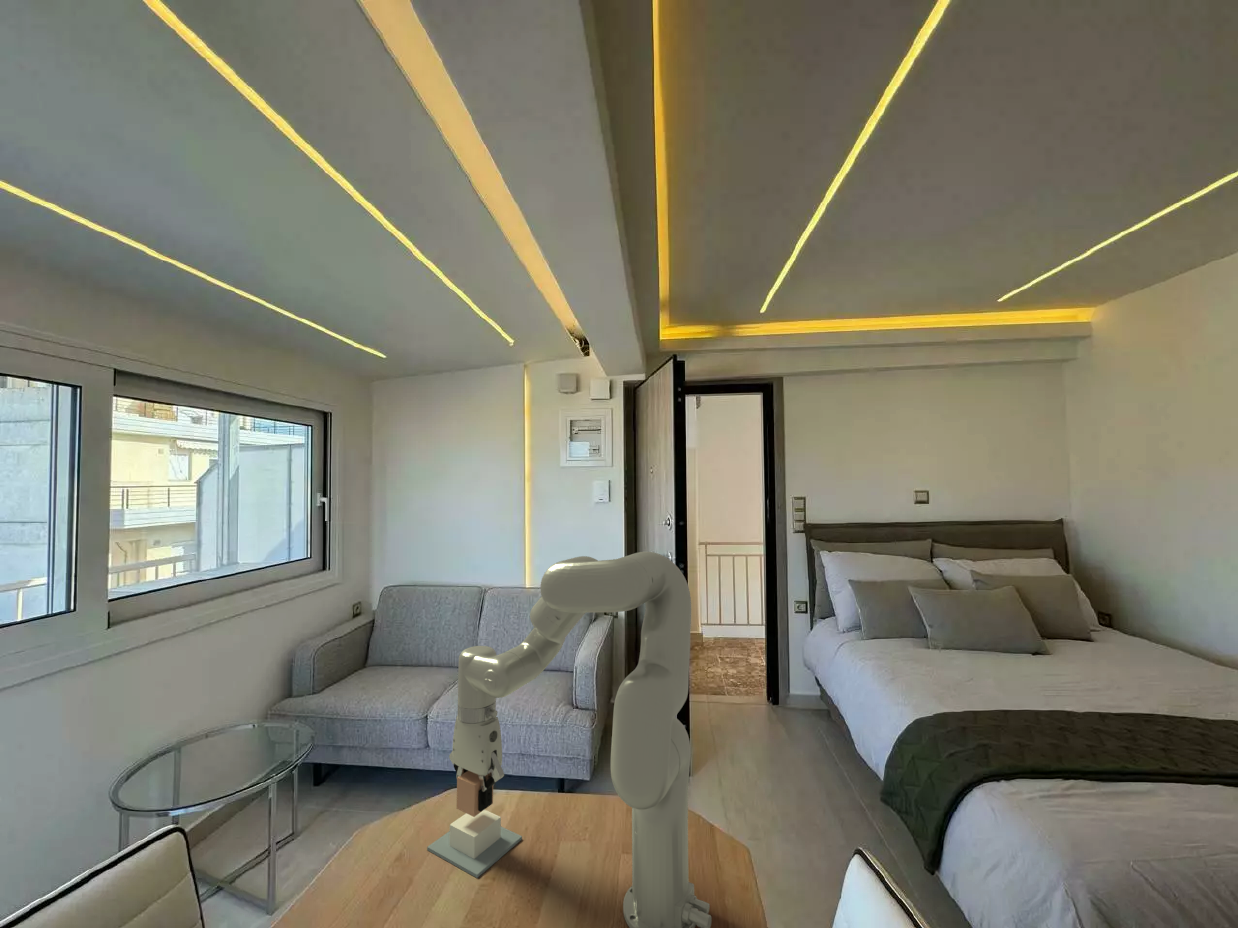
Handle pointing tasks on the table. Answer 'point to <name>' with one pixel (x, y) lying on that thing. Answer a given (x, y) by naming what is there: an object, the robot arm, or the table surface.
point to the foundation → (475, 842)
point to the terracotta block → (469, 793)
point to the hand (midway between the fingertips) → (475, 801)
